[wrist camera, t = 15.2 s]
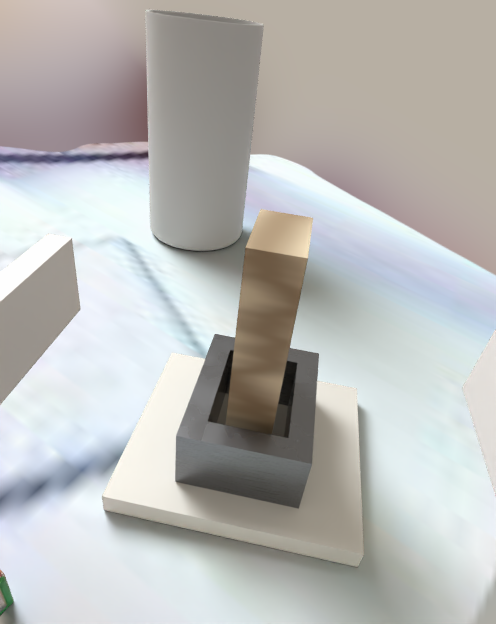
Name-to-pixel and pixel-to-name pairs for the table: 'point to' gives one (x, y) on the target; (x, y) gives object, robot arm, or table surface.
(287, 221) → the ash slat
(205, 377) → the grey rectangular socket
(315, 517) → the base board
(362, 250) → the table surface
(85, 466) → the table surface
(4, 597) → the stack of blocks
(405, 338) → the table surface
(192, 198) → the cylinder vase
